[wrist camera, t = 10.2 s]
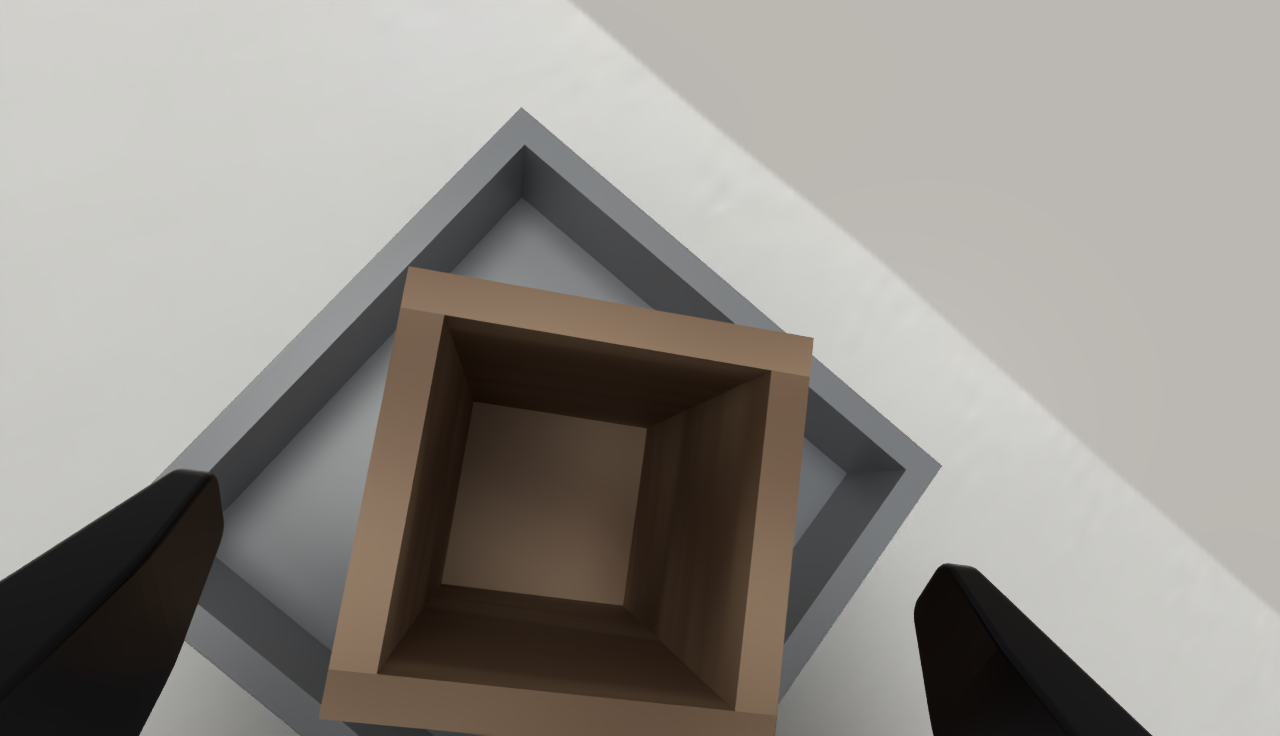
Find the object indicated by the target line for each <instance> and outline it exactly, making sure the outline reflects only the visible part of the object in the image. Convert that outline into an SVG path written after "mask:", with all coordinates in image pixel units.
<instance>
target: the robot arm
mask: <svg viewBox="0 0 1280 736" xmlns="http://www.w3.org/2000/svg"><path fill="white" fill-rule="evenodd" d="M223 531H224V516H223V508H222V501H221V494H220V487H219V481H218V478H217V476H216V475H215V474H214V473H211V472H207V471H199V470H191V469H176V470H174V471H171V472H169V473H168V474H166V475H165V476H163V477H162V478H160V479H158V480H157V481H155V482H154V483H152V484H151V485H149V486H148V487H146V488H144V489H143V490H141V491H140V492H138V493H137V494H135V495H134V496H132V497H130V498H129V499H127V500H126V501H124V502H123V503H121V504H120V505H118V506H116V507H115V508H113V509H112V510H110V511H109V512H107V513H106V514H104V515H102V516H101V517H99V518H98V519H96V520H95V521H93V522H92V523H90V524H88V525H87V526H85V527H84V528H82V529H81V530H79V531H78V532H76V533H74V534H73V535H71V536H70V537H68V538H67V539H65V540H64V541H62V542H60V543H59V544H57V545H56V546H54V547H53V548H51V549H50V550H48V551H46V552H45V553H43V554H42V555H40V556H39V557H37V558H36V559H34V560H32V561H31V562H29V563H28V564H26V565H25V566H23V567H22V568H20V569H18V570H17V571H15V572H14V573H12V574H11V575H9V576H8V577H6V578H4V579H3V580H1V581H0V736H139V735H140V733H141V731H142V729H143V727H144V725H145V723H146V721H147V719H148V717H149V715H150V713H151V711H152V709H153V707H154V705H155V703H156V701H157V700H158V698H159V696H160V694H161V692H162V690H163V688H164V686H165V684H166V682H167V680H168V677H169V675H170V673H171V671H172V669H173V667H174V665H175V663H176V660H177V658H178V655H179V653H180V650H181V648H182V645H183V643H184V640H185V637H186V634H187V632H188V629H189V626H190V624H191V621H192V618H193V616H194V613H195V610H196V608H197V605H198V602H199V600H200V597H201V594H202V591H203V589H204V586H205V583H206V581H207V578H208V575H209V573H210V570H211V567H212V565H213V562H214V559H215V557H216V554H217V551H218V549H219V546H220V543H221V540H222V536H223ZM914 623H915V629H916V635H917V641H918V648H919V654H920V660H921V666H922V672H923V679H924V685H925V691H926V697H927V704H928V710H929V715H930V721H931V726H932V731H933V735H934V736H1152V735H1151V734H1150V733H1149V732H1148V731H1147V730H1146V729H1145V728H1144V727H1143V726H1141V725H1140V724H1139V723H1138V722H1137V721H1136V720H1135V719H1134V718H1133V717H1132V716H1131V715H1130V714H1129V713H1128V712H1127V711H1126V710H1125V709H1124V708H1123V707H1121V706H1120V705H1119V704H1118V703H1117V702H1116V701H1115V700H1114V699H1113V698H1112V697H1111V696H1110V695H1109V694H1108V693H1107V692H1106V691H1105V690H1104V689H1103V688H1101V687H1100V686H1099V685H1098V684H1097V683H1096V682H1095V681H1094V680H1093V679H1092V678H1091V677H1090V676H1089V675H1088V674H1087V673H1086V672H1085V671H1084V670H1083V669H1082V668H1080V667H1079V666H1078V665H1077V664H1076V663H1075V662H1074V661H1073V660H1072V659H1071V658H1070V657H1069V656H1068V655H1067V654H1066V653H1065V652H1064V651H1063V650H1062V649H1060V648H1059V647H1058V646H1057V645H1056V644H1055V643H1054V642H1053V641H1052V640H1051V639H1050V638H1049V637H1048V636H1047V635H1046V634H1045V633H1044V632H1043V631H1042V630H1041V629H1039V628H1038V627H1037V626H1036V625H1035V624H1034V623H1033V622H1032V621H1031V620H1030V619H1029V618H1028V617H1027V616H1026V615H1025V614H1024V613H1023V612H1022V611H1021V610H1019V609H1018V608H1017V607H1016V606H1015V605H1014V604H1013V603H1012V602H1011V601H1010V600H1009V599H1008V598H1007V597H1006V596H1005V595H1004V594H1003V593H1002V592H1001V591H1000V590H998V589H997V588H996V587H995V586H994V585H993V584H992V583H991V582H990V581H989V580H988V579H987V578H986V577H985V576H984V575H983V574H982V573H981V572H979V571H978V570H977V569H975V568H974V567H971V566H966V565H958V564H950V563H946V564H943V565H941V566H940V567H938V569H937V570H936V571H935V573H934V575H933V576H932V578H931V579H930V581H929V582H928V584H927V585H926V587H925V589H924V590H923V592H922V593H921V595H920V596H919V598H918V600H917V602H916V605H915V609H914Z"/></svg>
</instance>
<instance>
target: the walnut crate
mask: <svg viewBox="0 0 1280 736" xmlns="http://www.w3.org/2000/svg"><path fill="white" fill-rule="evenodd" d="M813 339H814V338H810V337H805V336H799V335H793V334H788V333H782V332H777V331H771V330H765V329H760V328H754V327H748V326H743V325H737V324H732V323H726V322H720V321H715V320H709V319H703V318H698V317H692V316H687V315H681V314H675V313H670V312H664V311H658V310H653V309H647V308H642V307H636V306H630V305H625V304H619V303H613V302H608V301H602V300H597V299H591V298H585V297H580V296H574V295H568V294H563V293H557V292H552V291H546V290H540V289H535V288H529V287H523V286H518V285H512V284H507V283H501V282H495V281H490V280H484V279H478V278H473V277H467V276H461V275H456V274H450V273H445V272H439V271H433V270H428V269H422V268H416V267H411V266H409V267H408V272H407V277H406V282H405V287H404V292H403V297H402V302H401V307H400V312H399V317H398V322H397V327H396V332H395V337H394V343H393V348H392V353H391V358H390V363H389V368H388V373H387V378H386V383H385V388H384V393H383V398H382V403H381V408H380V413H379V418H378V423H377V428H376V433H375V438H374V443H373V448H372V453H371V458H370V463H369V468H368V473H367V478H366V483H365V488H364V493H363V498H362V503H361V508H360V513H359V518H358V523H357V528H356V533H355V538H354V543H353V548H352V553H351V558H350V563H349V568H348V573H347V578H346V583H345V588H344V593H343V598H342V603H341V608H340V613H339V618H338V623H337V628H336V633H335V638H334V643H333V648H332V653H331V658H330V663H329V668H328V673H327V678H326V683H325V688H324V693H323V698H322V704H321V709H320V714H319V719H324V720H334V721H345V722H355V723H366V724H377V725H387V726H398V727H409V728H419V729H430V730H440V731H451V732H462V733H472V734H483V735H494V736H775V728H776V718H777V707H778V697H779V687H780V677H781V666H782V656H783V646H784V636H785V626H786V615H787V605H788V595H789V585H790V574H791V564H792V554H793V544H794V533H795V523H796V513H797V503H798V492H799V482H800V472H801V462H802V451H803V441H804V431H805V421H806V411H807V400H808V390H809V380H810V370H811V359H812V349H813Z"/></svg>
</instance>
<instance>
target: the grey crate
mask: <svg viewBox="0 0 1280 736" xmlns="http://www.w3.org/2000/svg"><path fill="white" fill-rule="evenodd" d="M409 266H411V267H416V268H422V269H428V270H433V271H439V272H445V273H450V274H456V275H461V276H467V277H473V278H478V279H484V280H490V281H495V282H501V283H507V284H512V285H518V286H523V287H529V288H535V289H540V290H546V291H552V292H557V293H563V294H568V295H574V296H580V297H585V298H591V299H597V300H602V301H608V302H613V303H619V304H625V305H630V306H636V307H642V308H647V309H653V310H658V311H664V312H670V313H675V314H681V315H687V316H692V317H698V318H703V319H709V320H715V321H720V322H726V323H732V324H737V325H743V326H748V327H754V328H760V329H765V330H771V331H777V332H782V333H786V332H784V331H783V330H782V329H781V328H780V327H779V326H777V325H776V324H775V323H774V322H773V321H771V320H770V319H769V318H768V317H767V316H766V315H764V314H763V313H762V312H761V311H760V310H759V309H757V308H756V307H755V306H754V305H753V304H752V303H750V302H749V301H748V300H747V299H746V298H745V297H743V296H742V295H741V294H740V293H739V292H737V291H736V290H735V289H734V288H733V287H732V286H730V285H729V284H728V283H727V282H726V281H725V280H723V279H722V278H721V277H720V276H719V275H718V274H716V273H715V272H714V271H713V270H712V269H711V268H709V267H708V266H707V265H706V264H705V263H703V262H702V261H701V260H700V259H699V258H698V257H696V256H695V255H694V254H693V253H692V252H691V251H689V250H688V249H687V248H686V247H685V246H684V245H682V244H681V243H680V242H679V241H678V240H677V239H675V238H674V237H673V236H672V235H671V234H669V233H668V232H667V231H666V230H665V229H664V228H662V227H661V226H660V225H659V224H658V223H657V222H655V221H654V220H653V219H652V218H651V217H650V216H648V215H647V214H646V213H645V212H644V211H643V210H641V209H640V208H639V207H638V206H637V205H635V204H634V203H633V202H632V201H631V200H630V199H628V198H627V197H626V196H625V195H624V194H623V193H621V192H620V191H619V190H618V189H617V188H616V187H614V186H613V185H612V184H611V183H610V182H609V181H607V180H606V179H605V178H604V177H603V176H601V175H600V174H599V173H598V172H597V171H596V170H594V169H593V168H592V167H591V166H590V165H589V164H587V163H586V162H585V161H584V160H583V159H582V158H580V157H579V156H578V155H577V154H576V153H575V152H573V151H572V150H571V149H570V148H569V147H567V146H566V145H565V144H564V143H563V142H562V141H560V140H559V139H558V138H557V137H556V136H555V135H553V134H552V133H551V132H550V131H549V130H548V129H546V128H545V127H544V126H543V125H542V124H541V123H539V122H538V121H537V120H536V119H535V118H533V117H532V116H531V115H530V114H529V113H528V112H526V111H525V110H524V109H523V108H522V107H521V108H520V109H519V110H518V111H517V112H516V113H515V114H514V115H513V116H512V117H511V118H510V119H509V121H508V122H507V123H506V124H505V125H504V126H503V127H502V128H501V129H500V130H499V131H498V132H497V133H496V134H495V135H494V136H493V137H492V138H491V139H490V140H489V141H488V142H487V143H486V144H485V145H484V146H483V147H482V148H481V149H480V150H479V151H478V152H477V153H476V154H475V155H474V156H473V157H472V158H471V159H470V160H469V161H468V162H467V163H466V164H465V165H464V166H463V167H462V168H461V169H460V170H459V171H458V172H457V173H456V174H455V175H454V176H453V177H452V178H451V180H450V181H449V182H448V183H447V184H446V185H445V186H444V187H443V188H442V189H441V190H440V191H439V192H438V193H437V194H436V195H435V196H434V197H433V198H432V199H431V200H430V201H429V202H428V203H427V204H426V205H425V206H424V207H423V208H422V209H421V210H420V211H419V212H418V213H417V214H416V215H415V216H414V217H413V218H412V219H411V220H410V221H409V222H408V223H407V224H406V225H405V226H404V227H403V228H402V229H401V230H400V231H399V232H398V233H397V234H396V235H395V236H394V237H393V239H392V240H391V241H390V242H389V243H388V244H387V245H386V246H385V247H384V248H383V249H382V250H381V251H380V252H379V253H378V254H377V255H376V256H375V257H374V258H373V259H372V260H371V261H370V262H369V263H368V264H367V265H366V266H365V267H364V268H363V269H362V270H361V271H360V272H359V273H358V274H357V275H356V276H355V277H354V278H353V279H352V280H351V281H350V282H349V283H348V284H347V285H346V286H345V287H344V288H343V289H342V290H341V291H340V292H339V293H338V294H337V295H336V296H335V298H334V299H333V300H332V301H331V302H330V303H329V304H328V305H327V306H326V307H325V308H324V309H323V310H322V311H321V312H320V313H319V314H318V315H317V316H316V317H315V318H314V319H313V320H312V321H311V322H310V323H309V324H308V325H307V326H306V327H305V328H304V329H303V330H302V331H301V332H300V333H299V334H298V335H297V336H296V337H295V338H294V339H293V340H292V341H291V342H290V343H289V344H288V345H287V346H286V347H285V348H284V349H283V350H282V351H281V352H280V353H279V354H278V355H277V357H276V358H275V359H274V360H273V361H272V362H271V363H270V364H269V365H268V366H267V367H266V368H265V369H264V370H263V371H262V372H261V373H260V374H259V375H258V376H257V377H256V378H255V379H254V380H253V381H252V382H251V383H250V384H249V385H248V386H247V387H246V388H245V389H244V390H243V391H242V392H241V393H240V394H239V395H238V396H237V397H236V398H235V399H234V400H233V401H232V402H231V403H230V404H229V405H228V406H227V407H226V408H225V409H224V410H223V411H222V412H221V413H220V414H219V416H218V417H217V418H216V419H215V420H214V421H213V422H212V423H211V424H210V425H209V426H208V427H207V428H206V429H205V430H204V431H203V432H202V433H201V434H200V435H199V436H198V437H197V438H196V439H195V440H194V441H193V442H192V443H191V444H190V445H189V446H188V447H187V448H186V449H185V450H184V451H183V452H182V453H181V454H180V455H179V456H178V457H177V458H176V459H175V460H174V461H173V462H172V463H171V464H170V465H169V466H168V467H167V468H166V469H165V470H164V471H163V472H162V473H161V475H160V476H159V477H158V478H157V479H156V480H155V481H157V480H158V479H160V478H162V477H163V476H165V475H166V474H168V473H169V472H171V471H174V470H176V469H191V470H199V471H207V472H211V473H214V474H215V475H216V476H217V478H218V481H219V487H220V494H221V501H222V508H223V516H224V531H223V536H222V540H221V543H220V546H219V549H218V551H217V554H216V557H215V559H214V562H213V565H212V567H211V570H210V573H209V575H208V578H207V581H206V583H205V586H204V589H203V591H202V594H201V597H200V600H199V602H198V605H197V608H196V610H195V613H194V616H193V618H192V621H191V624H190V626H189V629H188V632H187V634H186V637H185V640H184V641H186V642H187V643H188V644H189V645H190V646H192V647H193V648H194V649H195V650H197V651H198V652H199V653H200V654H201V655H203V656H204V657H205V658H206V659H208V660H209V661H210V662H211V663H212V664H214V665H215V666H216V667H217V668H219V669H220V670H221V671H222V672H224V673H225V674H226V675H227V676H228V677H230V678H231V679H232V680H233V681H235V682H236V683H237V684H238V685H239V686H241V687H242V688H243V689H244V690H246V691H247V692H248V693H249V694H251V695H252V696H253V697H254V698H255V699H257V700H258V701H259V702H260V703H262V704H263V705H264V706H265V707H266V708H268V709H269V710H270V711H271V712H273V713H274V714H275V715H276V716H277V717H279V718H280V719H281V720H282V721H284V722H285V723H286V724H287V725H289V726H290V727H291V728H292V729H293V730H295V731H296V732H297V733H298V734H300V735H301V736H494V735H483V734H472V733H462V732H451V731H440V730H430V729H419V728H409V727H398V726H387V725H377V724H366V723H355V722H345V721H334V720H324V719H319V714H320V709H321V704H322V698H323V693H324V688H325V683H326V678H327V673H328V668H329V663H330V658H331V653H332V648H333V643H334V638H335V633H336V628H337V623H338V618H339V613H340V608H341V603H342V598H343V593H344V588H345V583H346V578H347V573H348V568H349V563H350V558H351V553H352V548H353V543H354V538H355V533H356V528H357V523H358V518H359V513H360V508H361V503H362V498H363V493H364V488H365V483H366V478H367V473H368V468H369V463H370V458H371V453H372V448H373V443H374V438H375V433H376V428H377V423H378V418H379V413H380V408H381V403H382V398H383V393H384V388H385V383H386V378H387V373H388V368H389V363H390V358H391V353H392V348H393V343H394V337H395V332H396V327H397V322H398V317H399V312H400V307H401V302H402V297H403V292H404V287H405V282H406V277H407V272H408V267H409ZM941 467H942V465H940V464H939V463H938V462H937V461H936V460H934V459H933V458H932V457H931V456H930V455H929V454H927V453H926V452H925V451H924V450H923V449H922V448H920V447H919V446H918V445H917V444H916V443H915V442H913V441H912V440H911V439H910V438H909V437H908V436H906V435H905V434H904V433H903V432H902V431H900V430H899V429H898V428H897V427H896V426H895V425H893V424H892V423H891V422H890V421H889V420H888V419H886V418H885V417H884V416H883V415H882V414H881V413H879V412H878V411H877V410H876V409H875V408H874V407H872V406H871V405H870V404H869V403H868V402H866V401H865V400H864V399H863V398H862V397H861V396H859V395H858V394H857V393H856V392H855V391H854V390H852V389H851V388H850V387H849V386H848V385H847V384H845V383H844V382H843V381H842V380H841V379H840V378H838V377H837V376H836V375H835V374H834V373H832V372H831V371H830V370H829V369H828V368H827V367H825V366H824V365H823V364H822V363H821V362H820V361H818V360H817V359H816V358H815V357H814V356H813V355H812V359H811V370H810V380H809V390H808V400H807V411H806V421H805V431H804V441H803V451H802V462H801V472H800V482H799V492H798V503H797V513H796V523H795V533H794V544H793V554H792V564H791V574H790V585H789V595H788V605H787V615H786V626H785V636H784V646H783V656H782V666H781V677H780V687H779V697H778V704H779V702H780V701H781V699H782V698H783V696H784V695H785V693H786V692H787V691H788V689H789V688H790V686H791V685H792V683H793V682H794V680H795V679H796V677H797V676H798V675H799V673H800V672H801V670H802V669H803V667H804V666H805V664H806V663H807V661H808V660H809V659H810V657H811V656H812V654H813V653H814V651H815V650H816V648H817V647H818V645H819V644H820V643H821V641H822V640H823V638H824V637H825V635H826V634H827V632H828V631H829V629H830V628H831V627H832V625H833V624H834V622H835V621H836V619H837V618H838V616H839V615H840V613H841V612H842V611H843V609H844V608H845V606H846V605H847V603H848V602H849V600H850V599H851V597H852V596H853V595H854V593H855V592H856V590H857V589H858V587H859V586H860V584H861V583H862V581H863V580H864V579H865V577H866V576H867V574H868V573H869V571H870V570H871V568H872V567H873V566H874V564H875V563H876V561H877V560H878V558H879V557H880V555H881V554H882V552H883V551H884V550H885V548H886V547H887V545H888V544H889V542H890V541H891V539H892V538H893V536H894V535H895V534H896V532H897V531H898V529H899V528H900V526H901V525H902V523H903V522H904V520H905V519H906V518H907V516H908V515H909V513H910V512H911V510H912V509H913V507H914V506H915V504H916V503H917V502H918V500H919V499H920V497H921V496H922V494H923V493H924V491H925V490H926V488H927V487H928V486H929V484H930V483H931V481H932V480H933V478H934V477H935V475H936V474H937V472H938V471H939V470H940V468H941ZM155 481H154V482H155ZM154 482H153V483H154Z"/></svg>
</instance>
